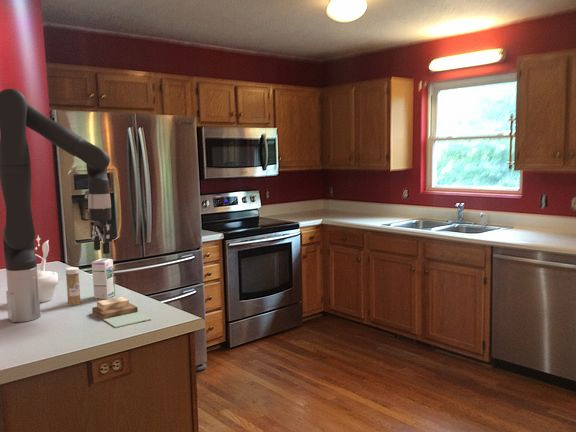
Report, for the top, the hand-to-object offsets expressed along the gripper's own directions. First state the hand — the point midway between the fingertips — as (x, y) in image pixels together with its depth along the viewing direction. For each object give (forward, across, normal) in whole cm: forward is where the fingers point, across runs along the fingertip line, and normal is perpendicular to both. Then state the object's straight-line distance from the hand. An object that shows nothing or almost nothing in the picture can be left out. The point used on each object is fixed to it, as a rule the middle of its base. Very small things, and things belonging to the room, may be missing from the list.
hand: (101, 251), depth 188 cm
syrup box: (+20, -13, +5) cm, 24 cm away
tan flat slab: (+20, +10, 0) cm, 22 cm away
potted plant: (+20, -24, -15) cm, 35 cm away
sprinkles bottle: (+20, -11, -7) cm, 24 cm away
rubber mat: (+20, +21, 0) cm, 29 cm away
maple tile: (+18, +9, 0) cm, 20 cm away
